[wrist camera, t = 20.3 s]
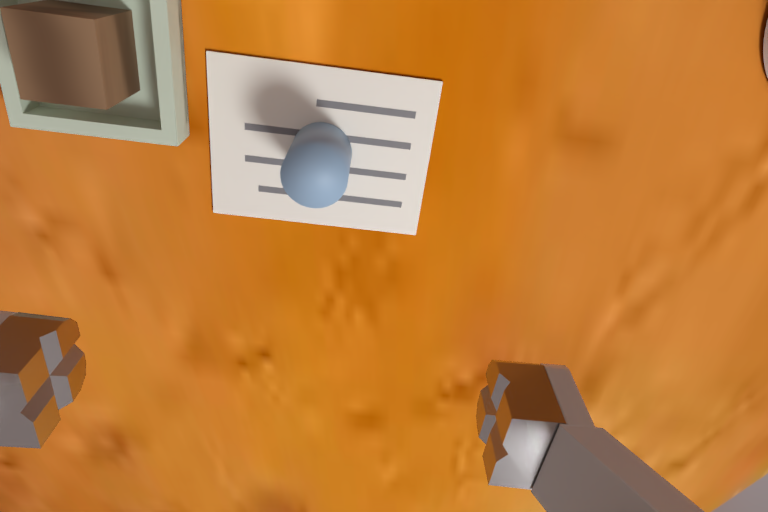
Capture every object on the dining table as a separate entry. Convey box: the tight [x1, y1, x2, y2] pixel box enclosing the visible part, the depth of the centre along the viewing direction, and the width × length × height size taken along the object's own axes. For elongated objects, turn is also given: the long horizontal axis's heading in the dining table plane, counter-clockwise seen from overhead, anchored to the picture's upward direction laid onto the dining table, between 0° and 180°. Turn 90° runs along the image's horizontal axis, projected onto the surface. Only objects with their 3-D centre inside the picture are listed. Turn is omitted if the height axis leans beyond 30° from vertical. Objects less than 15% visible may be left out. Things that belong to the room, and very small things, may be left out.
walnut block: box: [0, 0, 140, 110], centre depth 32 cm, size 5×5×5 cm
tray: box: [0, 0, 190, 146], centre depth 34 cm, size 11×11×2 cm
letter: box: [206, 51, 443, 235], centre depth 38 cm, size 16×12×1 cm
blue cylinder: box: [280, 122, 352, 208], centre depth 36 cm, size 4×4×5 cm
